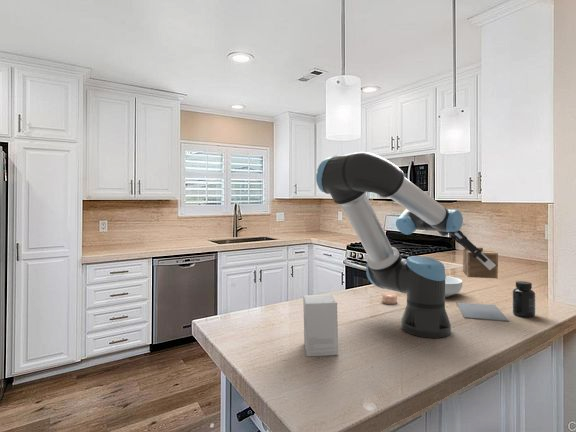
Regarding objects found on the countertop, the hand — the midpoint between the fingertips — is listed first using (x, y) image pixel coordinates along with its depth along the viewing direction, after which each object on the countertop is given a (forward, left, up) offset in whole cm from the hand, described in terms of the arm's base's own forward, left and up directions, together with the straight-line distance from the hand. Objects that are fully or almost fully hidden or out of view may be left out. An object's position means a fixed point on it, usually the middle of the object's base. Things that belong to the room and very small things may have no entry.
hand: (488, 264), depth 127 cm
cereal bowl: (+22, +14, -18) cm, 32 cm away
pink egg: (+4, +36, -18) cm, 40 cm away
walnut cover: (0, +3, -4) cm, 5 cm away
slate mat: (0, +3, -18) cm, 18 cm away
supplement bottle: (0, -11, -18) cm, 21 cm away
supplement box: (-48, +54, -18) cm, 75 cm away
